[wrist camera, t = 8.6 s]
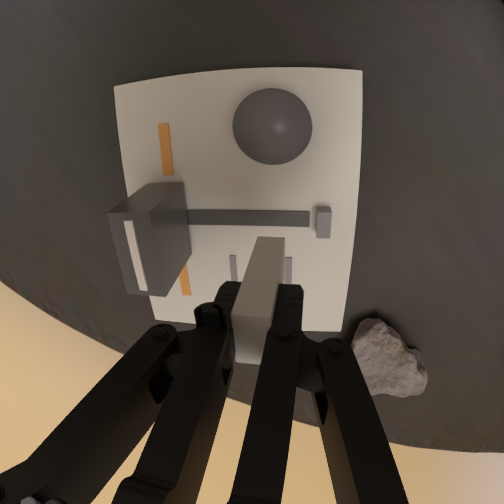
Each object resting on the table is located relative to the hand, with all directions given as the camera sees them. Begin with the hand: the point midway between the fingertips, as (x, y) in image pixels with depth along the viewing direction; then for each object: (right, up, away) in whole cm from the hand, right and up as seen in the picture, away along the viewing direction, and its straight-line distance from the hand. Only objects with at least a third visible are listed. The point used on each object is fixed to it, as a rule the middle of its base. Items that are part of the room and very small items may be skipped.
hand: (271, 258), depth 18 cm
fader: (-7, +3, +7) cm, 11 cm away
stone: (+13, -10, +14) cm, 21 cm away
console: (-2, +4, +8) cm, 9 cm away
